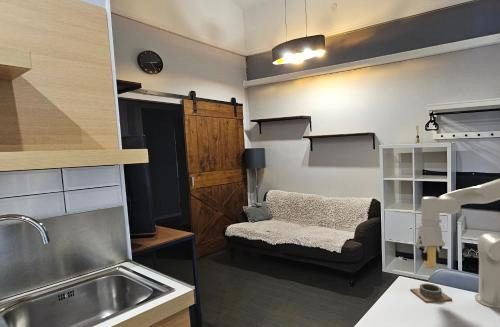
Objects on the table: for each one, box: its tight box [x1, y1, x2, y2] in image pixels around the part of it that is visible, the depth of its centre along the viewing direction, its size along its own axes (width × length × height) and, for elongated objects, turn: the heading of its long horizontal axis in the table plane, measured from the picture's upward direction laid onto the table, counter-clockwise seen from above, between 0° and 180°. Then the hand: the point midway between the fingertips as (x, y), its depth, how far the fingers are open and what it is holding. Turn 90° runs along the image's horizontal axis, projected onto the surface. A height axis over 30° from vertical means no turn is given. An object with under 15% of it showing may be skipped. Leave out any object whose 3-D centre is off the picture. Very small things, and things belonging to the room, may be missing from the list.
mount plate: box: [410, 283, 453, 303], centre depth 150 cm, size 13×12×4 cm
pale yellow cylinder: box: [423, 246, 437, 269], centre depth 149 cm, size 5×5×10 cm
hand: (429, 259), depth 149 cm, fingers closed on pale yellow cylinder, 5 cm apart
